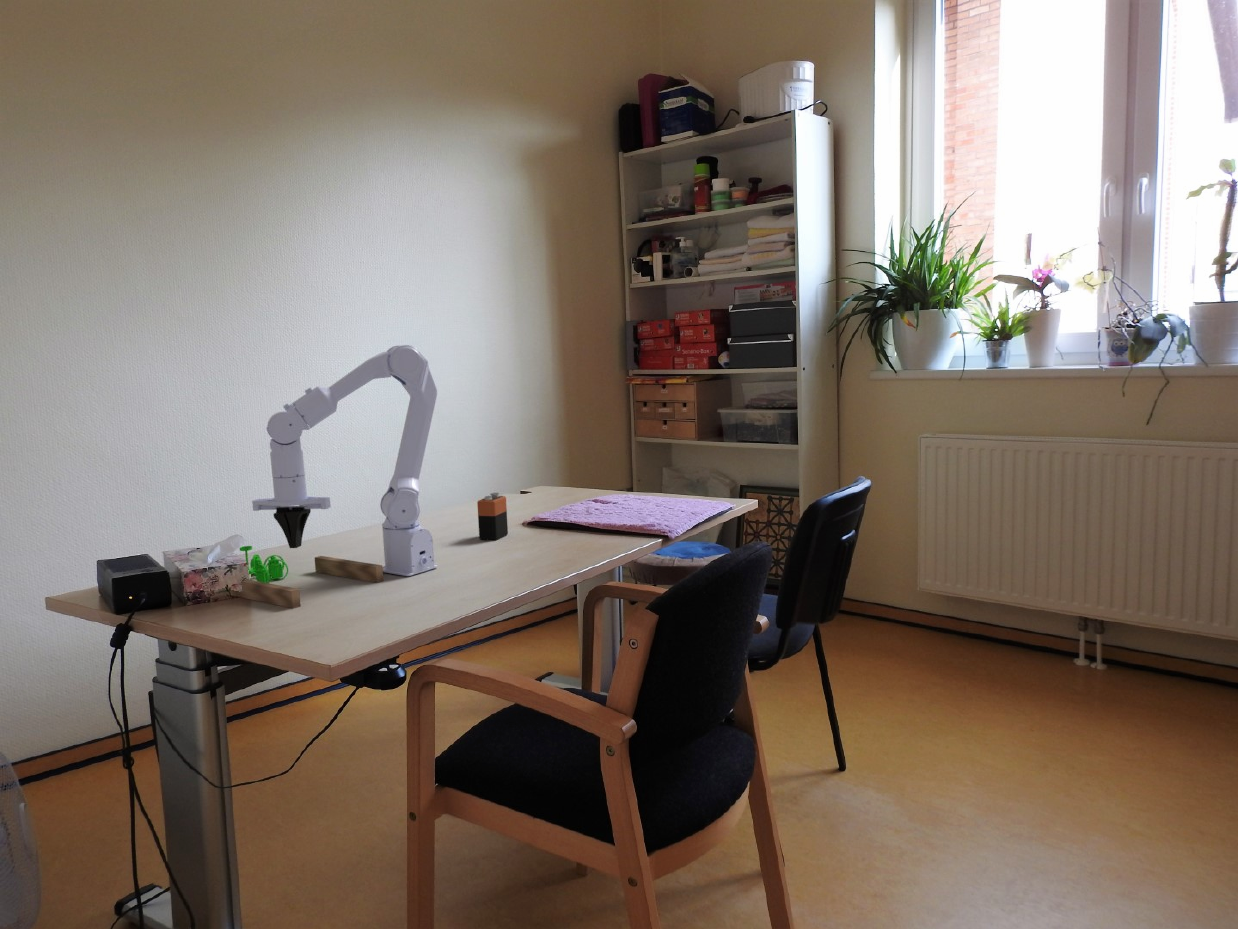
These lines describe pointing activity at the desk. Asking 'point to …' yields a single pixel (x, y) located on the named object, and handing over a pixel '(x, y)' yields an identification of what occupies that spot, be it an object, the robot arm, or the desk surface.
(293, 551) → the desk surface
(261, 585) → the pair of wooden bars
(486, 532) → the battery
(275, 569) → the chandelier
